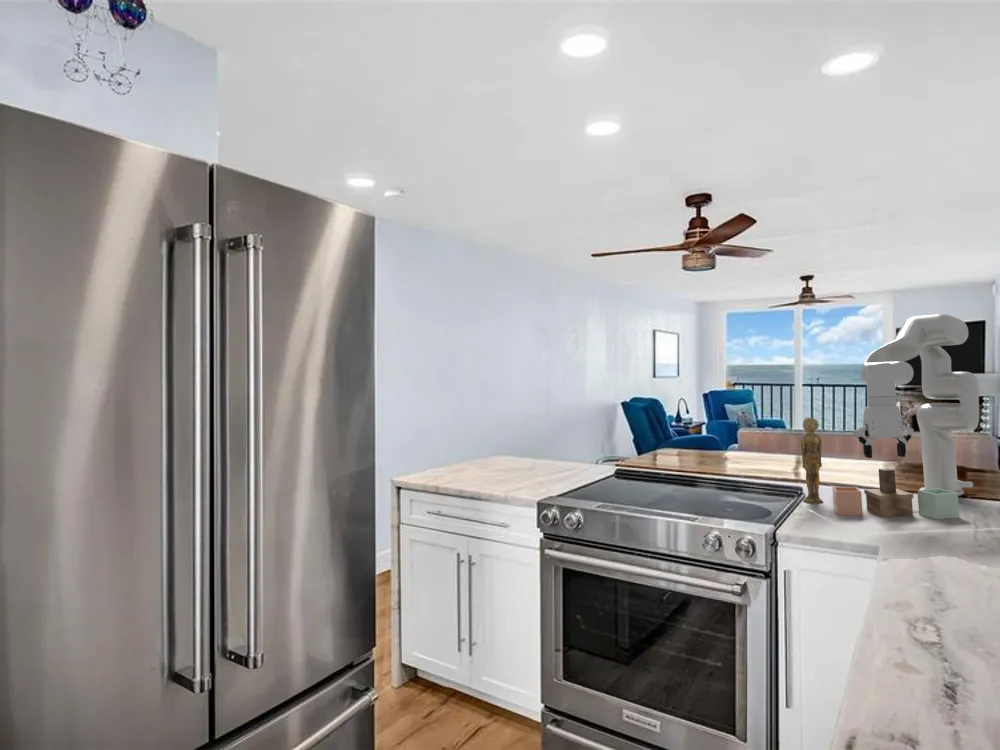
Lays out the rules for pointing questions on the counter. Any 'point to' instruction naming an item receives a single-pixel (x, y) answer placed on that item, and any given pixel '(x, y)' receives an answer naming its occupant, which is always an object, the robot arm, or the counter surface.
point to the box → (889, 506)
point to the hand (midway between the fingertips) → (884, 457)
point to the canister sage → (938, 503)
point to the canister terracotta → (847, 501)
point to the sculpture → (811, 459)
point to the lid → (887, 487)
